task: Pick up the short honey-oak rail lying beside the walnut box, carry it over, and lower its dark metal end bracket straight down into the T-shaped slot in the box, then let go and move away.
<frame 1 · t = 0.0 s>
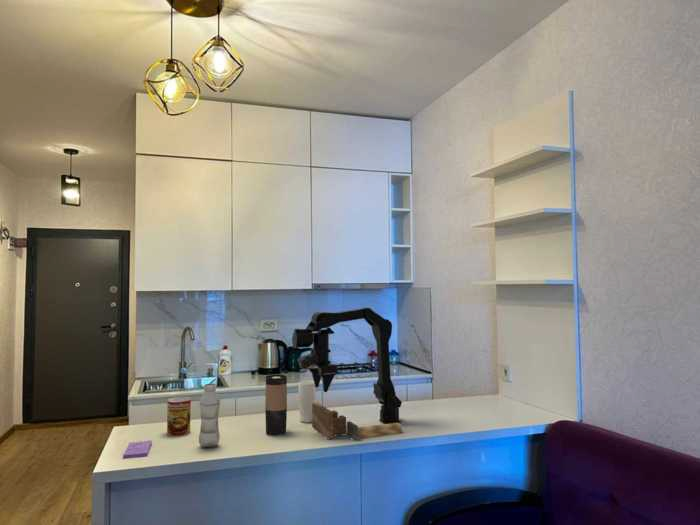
hand: (320, 389, 181), 15 cm above the countertop, tool pointing down, fingers open, 9 cm apart
canned food: (178, 433, 177), on the countertop
walnut box: (332, 431, 178), on the countertop
travel mug: (276, 433, 177), on the countertop
sponges: (138, 453, 158), on the countertop
oak rail: (377, 435, 174), on the countertop
white cylinder: (307, 421, 192), on the countertop
plastic bottle: (209, 447, 162), on the countertop
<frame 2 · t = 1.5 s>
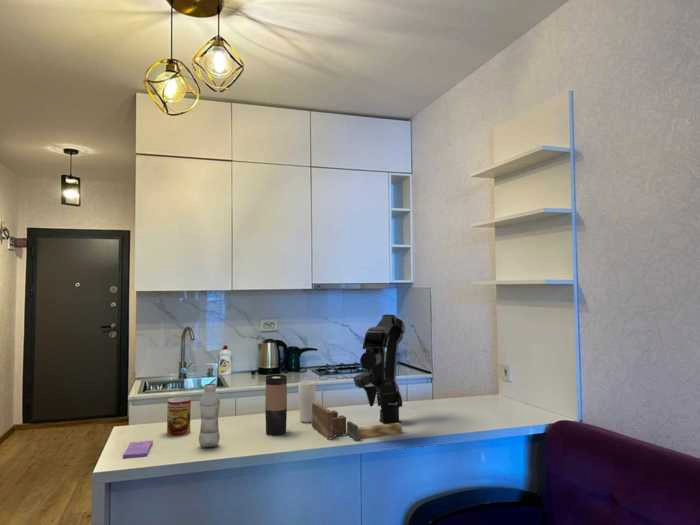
hand: (377, 409, 175), 9 cm above the countertop, tool pointing down, fingers open, 9 cm apart
nothing on the countertop moved.
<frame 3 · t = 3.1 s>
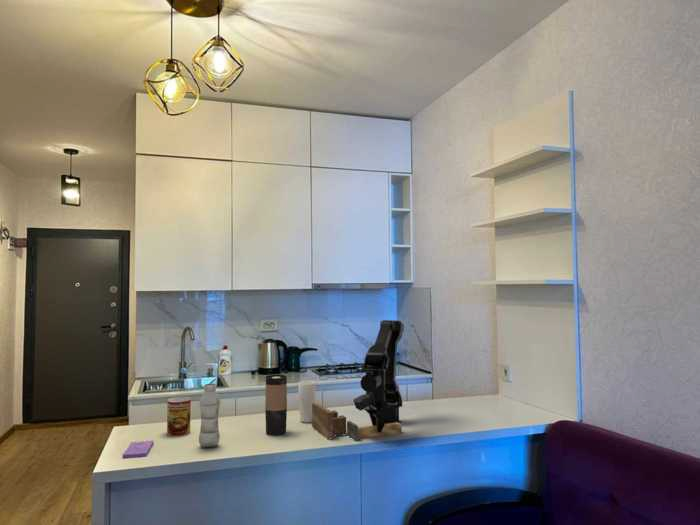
hand: (377, 431, 174), 1 cm above the countertop, tool pointing down, fingers closed on oak rail, 3 cm apart
oak rail: (377, 434, 174), on the countertop, touching gripper
everything else where it was.
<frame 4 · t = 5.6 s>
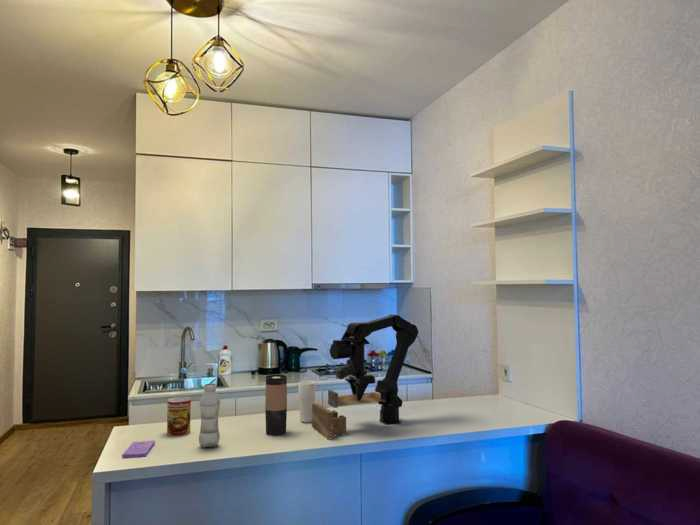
hand: (357, 399, 183), 11 cm above the countertop, tool pointing down, fingers closed on oak rail, 3 cm apart
oak rail: (357, 403, 183), point 9 cm above the countertop, touching gripper
everything else where it was.
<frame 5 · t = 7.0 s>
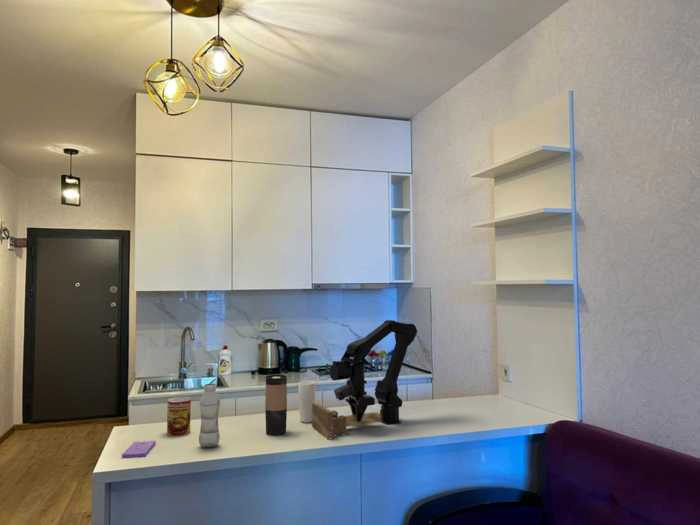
hand: (357, 420, 182), 3 cm above the countertop, tool pointing down, fingers closed on oak rail, 3 cm apart
oak rail: (356, 423, 182), point 2 cm above the countertop, touching gripper
everything else where it was.
when the fingers open (2 cm above the countertop, at t = 8.1 s): oak rail drops 1 cm, on the countertop.
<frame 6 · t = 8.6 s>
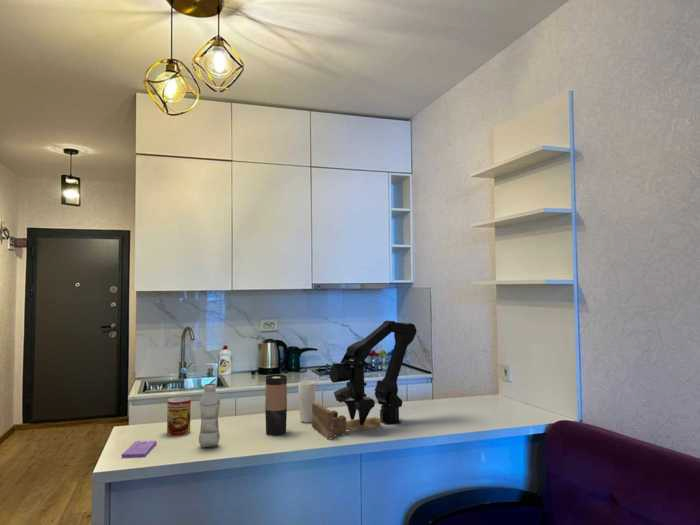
hand: (356, 422, 182), 2 cm above the countertop, tool pointing down, fingers open, 8 cm apart
oak rail: (356, 428, 182), on the countertop
everything else where it was.
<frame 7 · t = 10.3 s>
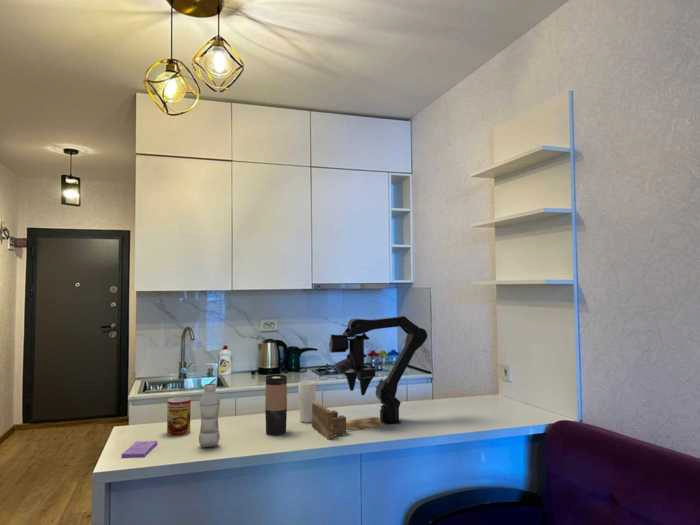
hand: (357, 392, 189), 12 cm above the countertop, tool pointing down, fingers open, 9 cm apart
nothing on the countertop moved.
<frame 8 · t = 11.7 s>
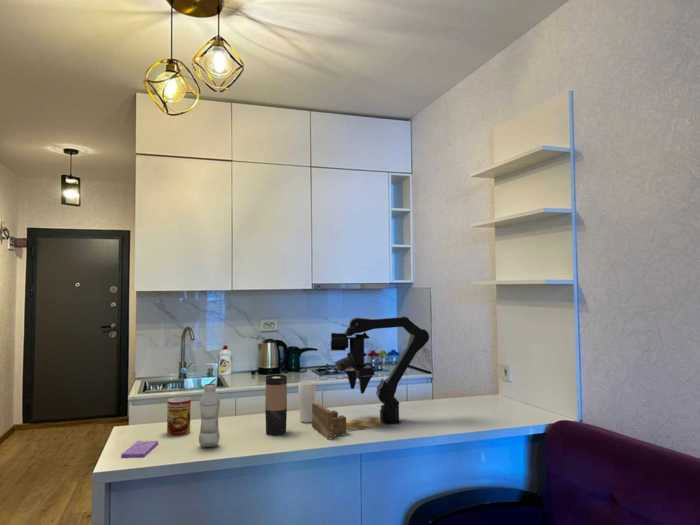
hand: (357, 391, 191), 12 cm above the countertop, tool pointing down, fingers open, 9 cm apart
at the end: oak rail 0.0 cm from the target spot on the countertop beside the walnut box, on the countertop; oak rail tilted 0°; the gripper is holding nothing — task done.
